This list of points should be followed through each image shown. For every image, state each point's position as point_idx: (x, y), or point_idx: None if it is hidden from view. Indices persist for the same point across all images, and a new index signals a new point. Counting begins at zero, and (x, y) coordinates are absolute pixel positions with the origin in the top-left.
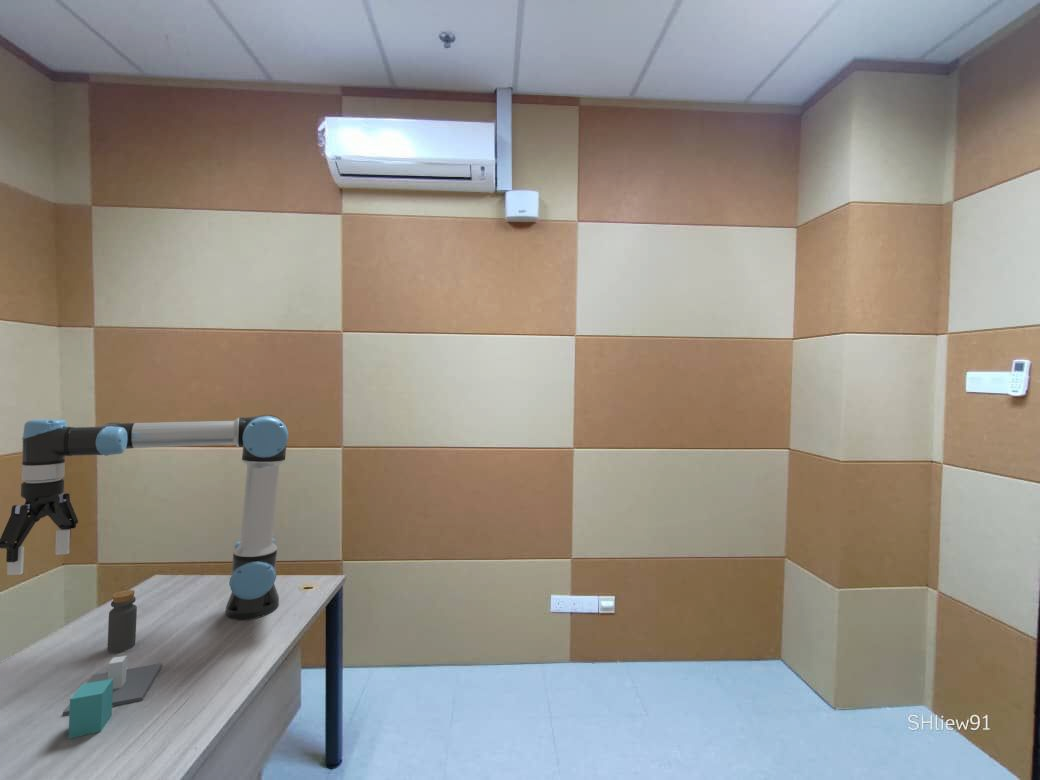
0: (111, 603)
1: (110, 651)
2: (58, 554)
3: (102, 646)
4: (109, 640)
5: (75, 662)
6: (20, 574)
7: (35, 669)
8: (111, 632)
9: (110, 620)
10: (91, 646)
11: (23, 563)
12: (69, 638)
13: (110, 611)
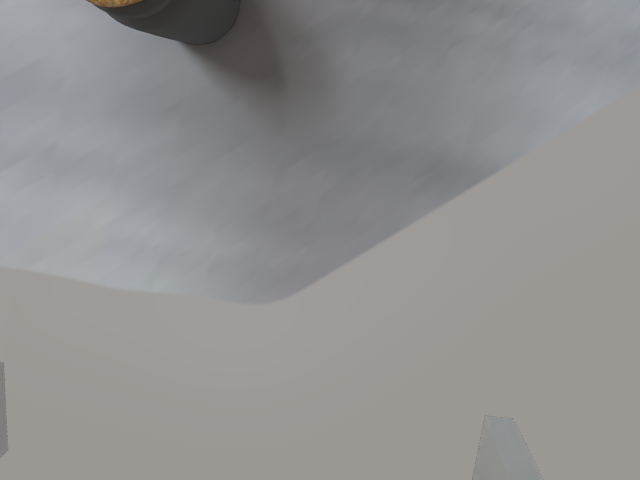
0: (160, 3)
1: (234, 18)
2: (6, 426)
3: (176, 81)
4: (222, 20)
5: (280, 113)
6: (511, 419)
7: (301, 219)
8: (218, 6)
9: (202, 7)
10: (170, 123)
11: (510, 475)
12: (98, 237)
13: (169, 16)
